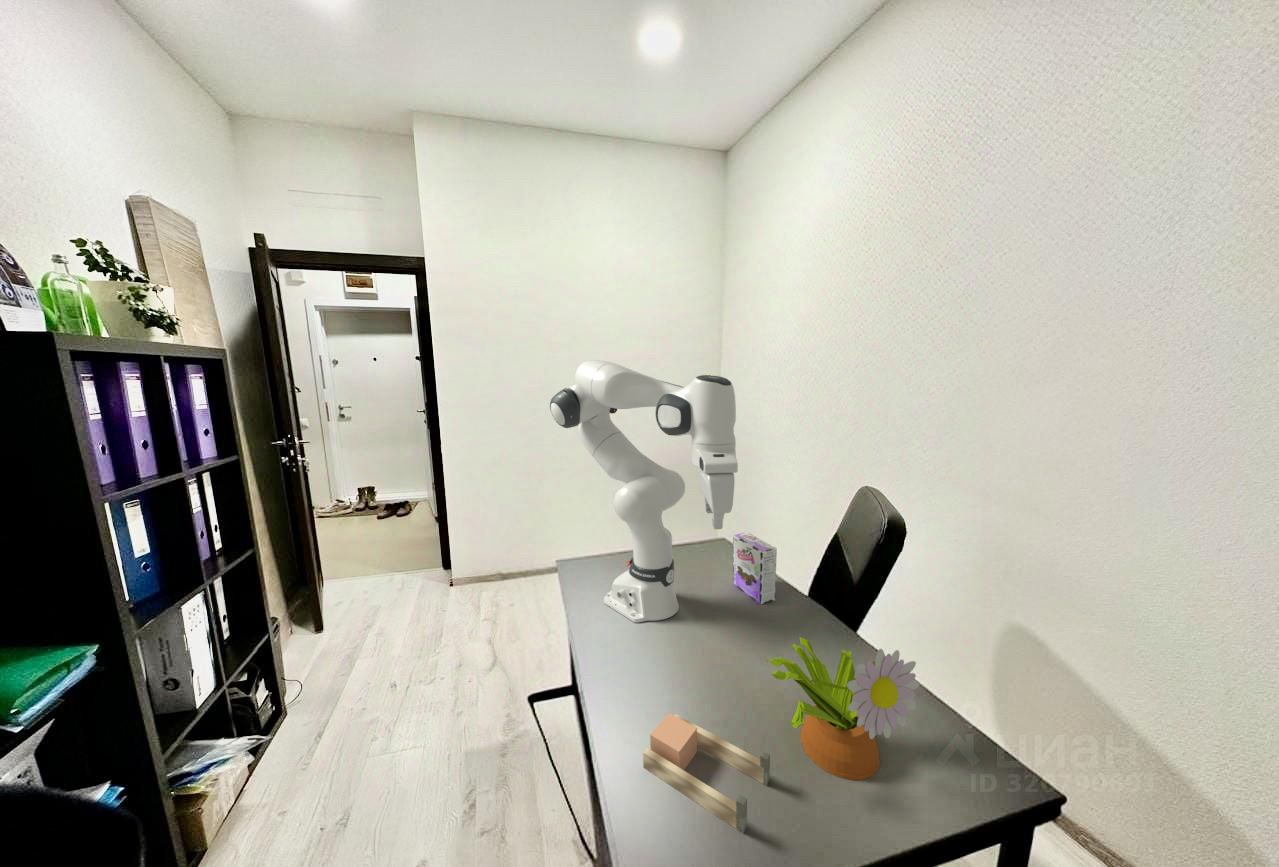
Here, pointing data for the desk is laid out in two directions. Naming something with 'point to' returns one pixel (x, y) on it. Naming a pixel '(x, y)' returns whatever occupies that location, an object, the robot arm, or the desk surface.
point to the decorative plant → (850, 708)
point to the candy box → (754, 567)
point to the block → (675, 741)
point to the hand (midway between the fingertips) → (713, 519)
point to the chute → (704, 793)
